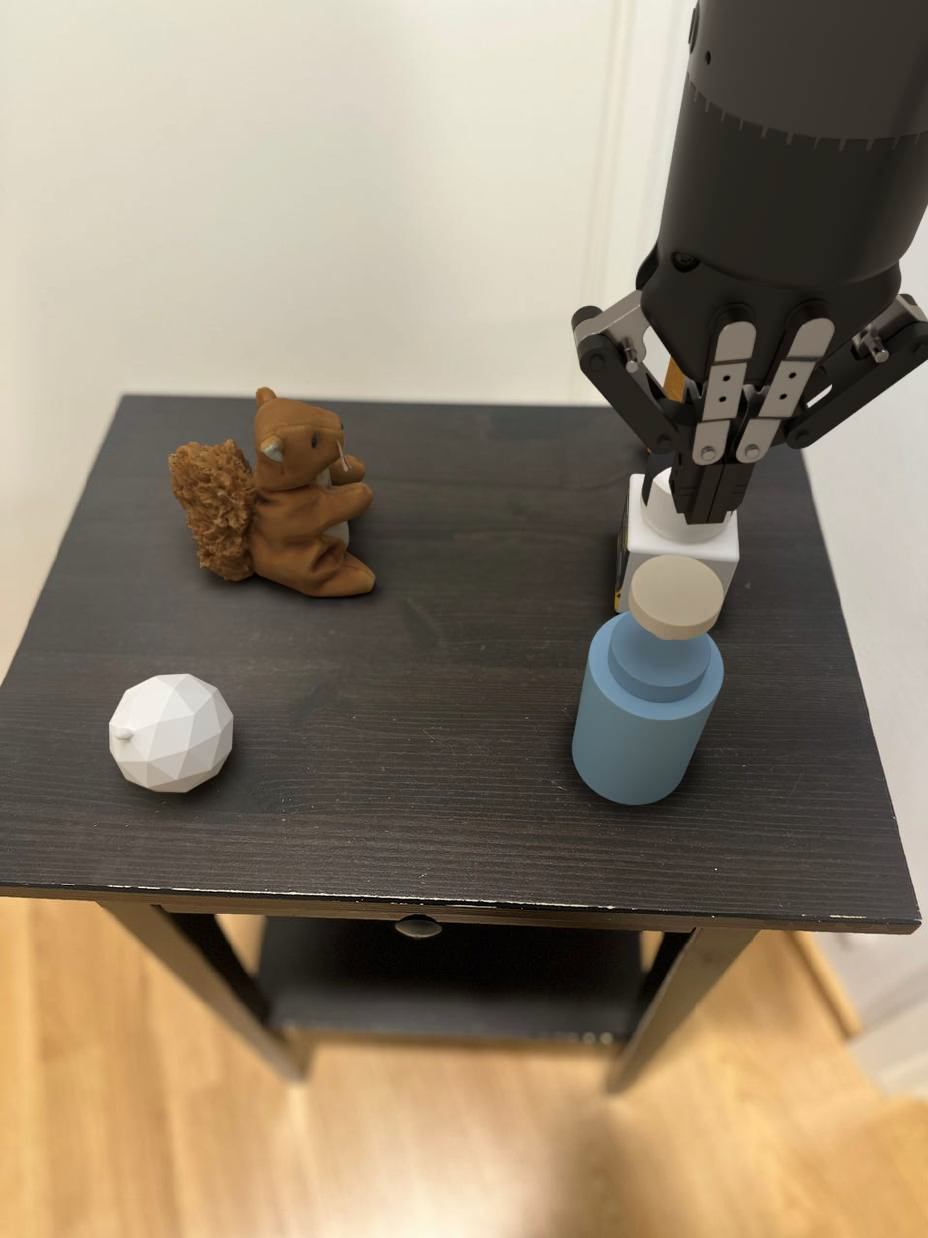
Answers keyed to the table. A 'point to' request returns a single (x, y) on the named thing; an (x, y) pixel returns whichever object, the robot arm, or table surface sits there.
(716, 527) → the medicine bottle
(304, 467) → the stuffed squirrel
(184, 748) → the ornament
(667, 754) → the pump bottle
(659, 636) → the disc
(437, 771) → the table surface
